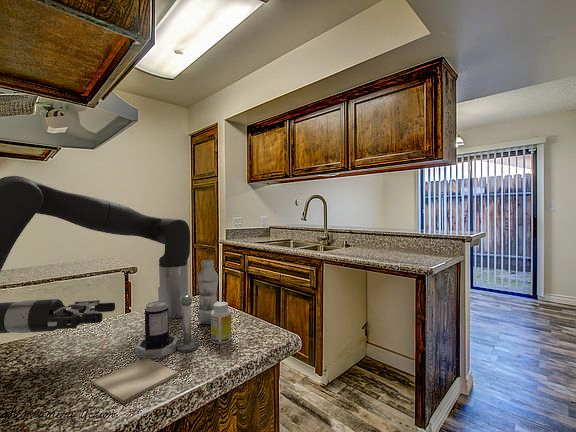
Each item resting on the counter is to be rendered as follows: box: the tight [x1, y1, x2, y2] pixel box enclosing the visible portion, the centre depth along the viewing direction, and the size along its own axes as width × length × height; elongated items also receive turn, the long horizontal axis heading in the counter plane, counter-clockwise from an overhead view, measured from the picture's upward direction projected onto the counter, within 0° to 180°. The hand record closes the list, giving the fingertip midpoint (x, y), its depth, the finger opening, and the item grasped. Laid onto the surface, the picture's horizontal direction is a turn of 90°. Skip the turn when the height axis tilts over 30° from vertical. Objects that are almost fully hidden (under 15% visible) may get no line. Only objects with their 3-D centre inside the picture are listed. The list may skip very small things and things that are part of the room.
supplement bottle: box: [210, 301, 233, 345], centre depth 86 cm, size 6×6×10 cm
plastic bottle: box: [197, 259, 219, 325], centre depth 99 cm, size 6×7×20 cm
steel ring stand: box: [135, 295, 200, 359], centre depth 81 cm, size 13×13×14 cm
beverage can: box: [144, 300, 170, 349], centre depth 81 cm, size 6×6×12 cm
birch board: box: [92, 358, 178, 405], centre depth 67 cm, size 12×12×1 cm
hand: (108, 311), depth 78 cm, fingers open, 8 cm apart
